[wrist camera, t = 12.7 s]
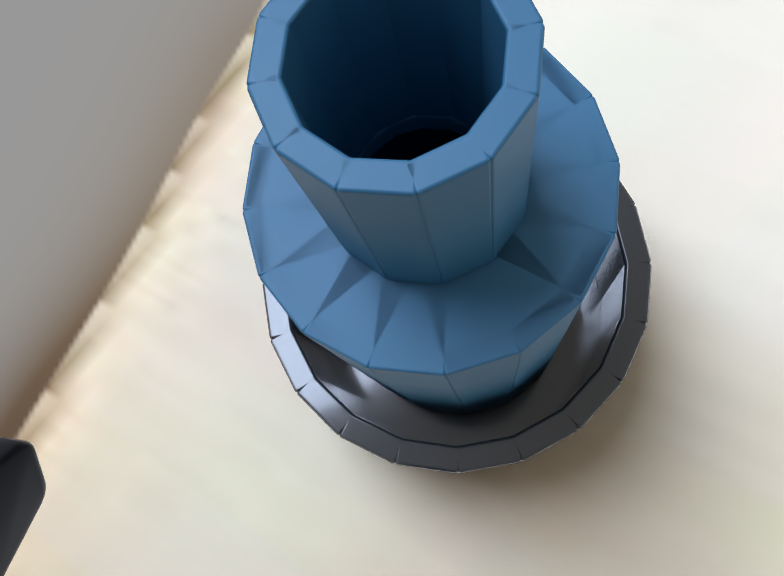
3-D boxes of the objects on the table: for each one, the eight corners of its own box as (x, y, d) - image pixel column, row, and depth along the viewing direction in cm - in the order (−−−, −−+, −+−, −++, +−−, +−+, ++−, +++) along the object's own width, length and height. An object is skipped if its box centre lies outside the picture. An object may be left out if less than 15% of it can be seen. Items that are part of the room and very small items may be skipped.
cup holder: (541, 526, 20) (553, 544, 16) (256, 384, 22) (198, 366, 18) (667, 232, 22) (711, 175, 17) (388, 123, 24) (364, 47, 19)
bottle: (555, 424, 20) (674, 353, 7) (343, 401, 21) (80, 302, 8) (568, 217, 22) (689, -185, 8) (367, 204, 23) (177, -175, 9)
